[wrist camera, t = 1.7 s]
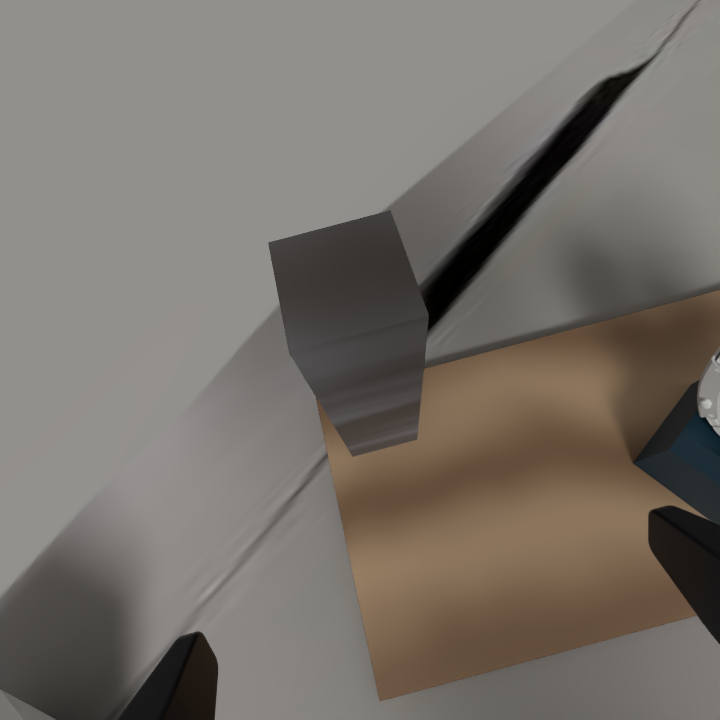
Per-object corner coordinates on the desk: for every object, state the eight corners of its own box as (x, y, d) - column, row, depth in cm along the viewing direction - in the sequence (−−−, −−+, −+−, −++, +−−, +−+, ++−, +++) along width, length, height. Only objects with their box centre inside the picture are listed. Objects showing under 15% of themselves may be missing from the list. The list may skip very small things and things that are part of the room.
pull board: (934, 547, 18) (2014, 549, 6) (380, 697, 18) (324, 1013, 6) (737, 288, 24) (1079, 21, 12) (317, 400, 24) (223, 247, 12)
